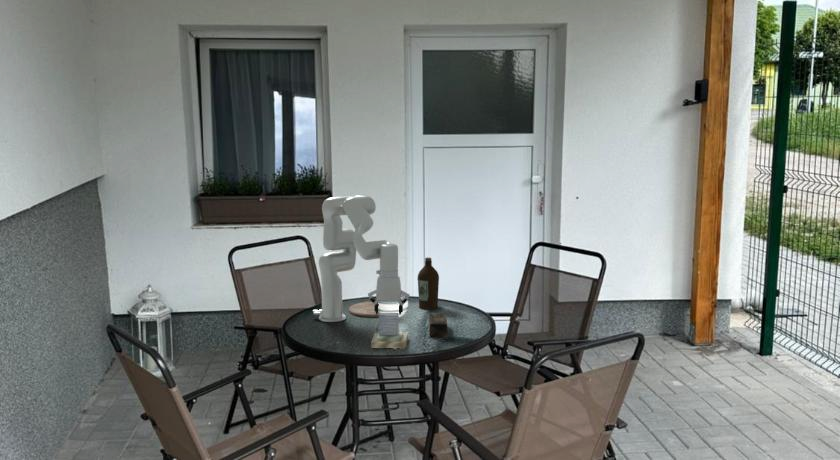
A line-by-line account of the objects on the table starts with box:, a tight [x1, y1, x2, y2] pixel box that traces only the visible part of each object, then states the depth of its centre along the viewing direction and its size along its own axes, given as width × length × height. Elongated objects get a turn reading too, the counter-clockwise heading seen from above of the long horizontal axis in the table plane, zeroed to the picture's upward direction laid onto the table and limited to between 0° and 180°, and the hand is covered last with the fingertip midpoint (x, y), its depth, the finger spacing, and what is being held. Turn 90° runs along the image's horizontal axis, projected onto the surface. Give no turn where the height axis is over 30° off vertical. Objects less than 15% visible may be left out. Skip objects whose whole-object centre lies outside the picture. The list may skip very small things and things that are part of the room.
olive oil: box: [417, 257, 440, 310], centre depth 365 cm, size 11×11×25 cm
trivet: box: [348, 301, 380, 318], centre depth 360 cm, size 25×25×2 cm
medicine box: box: [378, 313, 400, 336], centre depth 306 cm, size 8×4×9 cm, turn 85°
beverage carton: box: [428, 312, 448, 339], centre depth 324 cm, size 8×19×7 cm, turn 0°
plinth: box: [370, 330, 409, 350], centre depth 307 cm, size 14×14×4 cm
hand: (388, 313), depth 306 cm, fingers open, 9 cm apart
